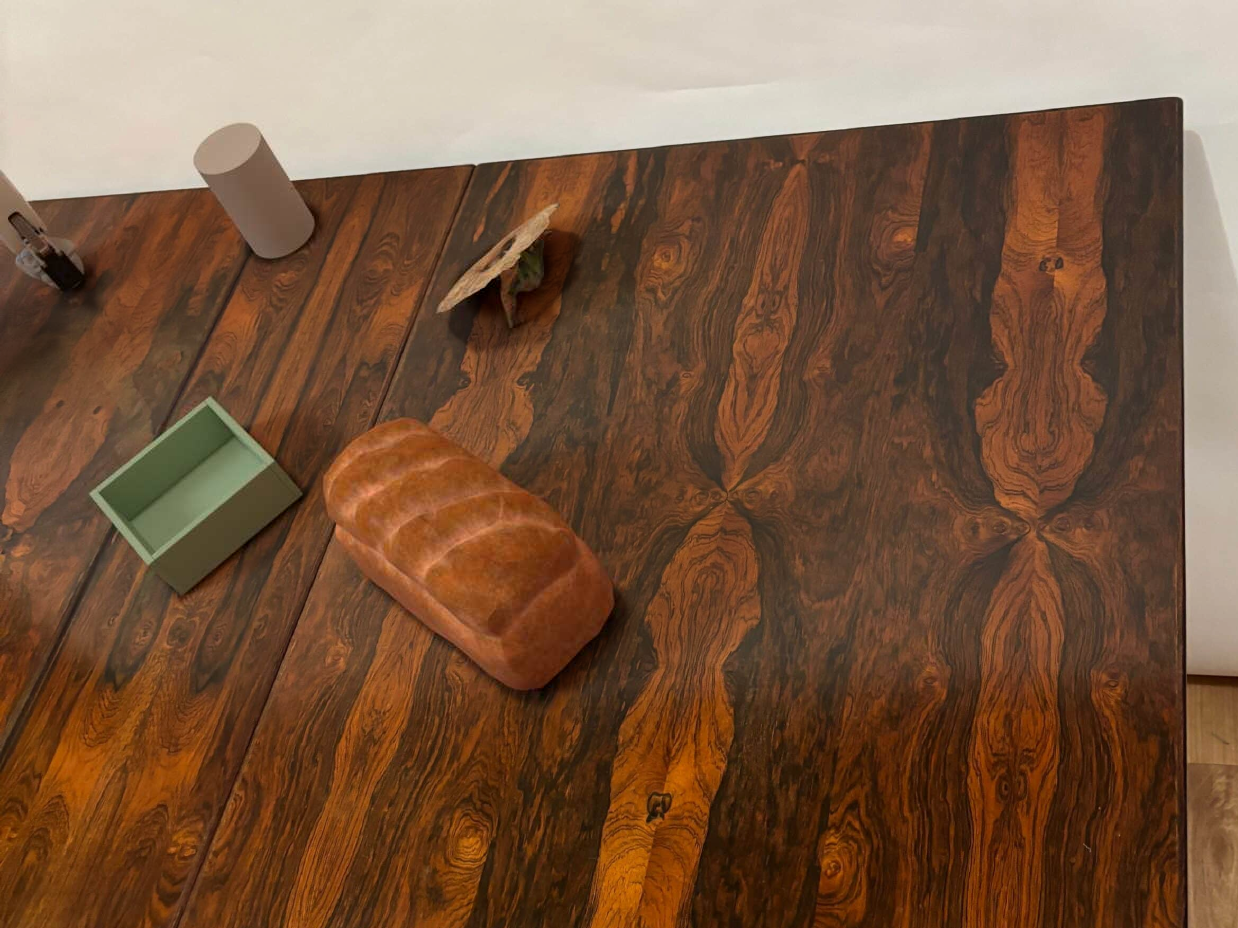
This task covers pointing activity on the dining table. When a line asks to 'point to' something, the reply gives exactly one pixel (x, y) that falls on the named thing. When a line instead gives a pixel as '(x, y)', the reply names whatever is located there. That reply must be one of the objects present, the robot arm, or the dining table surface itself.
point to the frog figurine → (33, 266)
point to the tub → (195, 495)
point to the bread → (467, 551)
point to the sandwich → (507, 266)
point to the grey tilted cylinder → (254, 190)
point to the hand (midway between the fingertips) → (61, 271)
